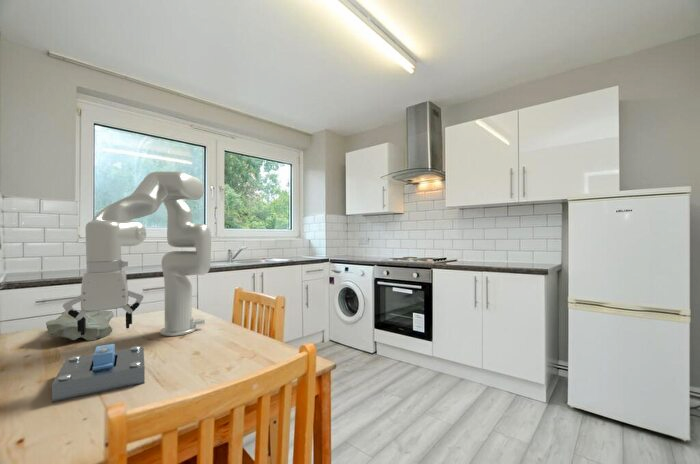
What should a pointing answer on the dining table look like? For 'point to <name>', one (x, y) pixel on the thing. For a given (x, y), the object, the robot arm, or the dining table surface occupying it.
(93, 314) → the stone
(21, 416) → the dining table surface
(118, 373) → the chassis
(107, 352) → the servo
